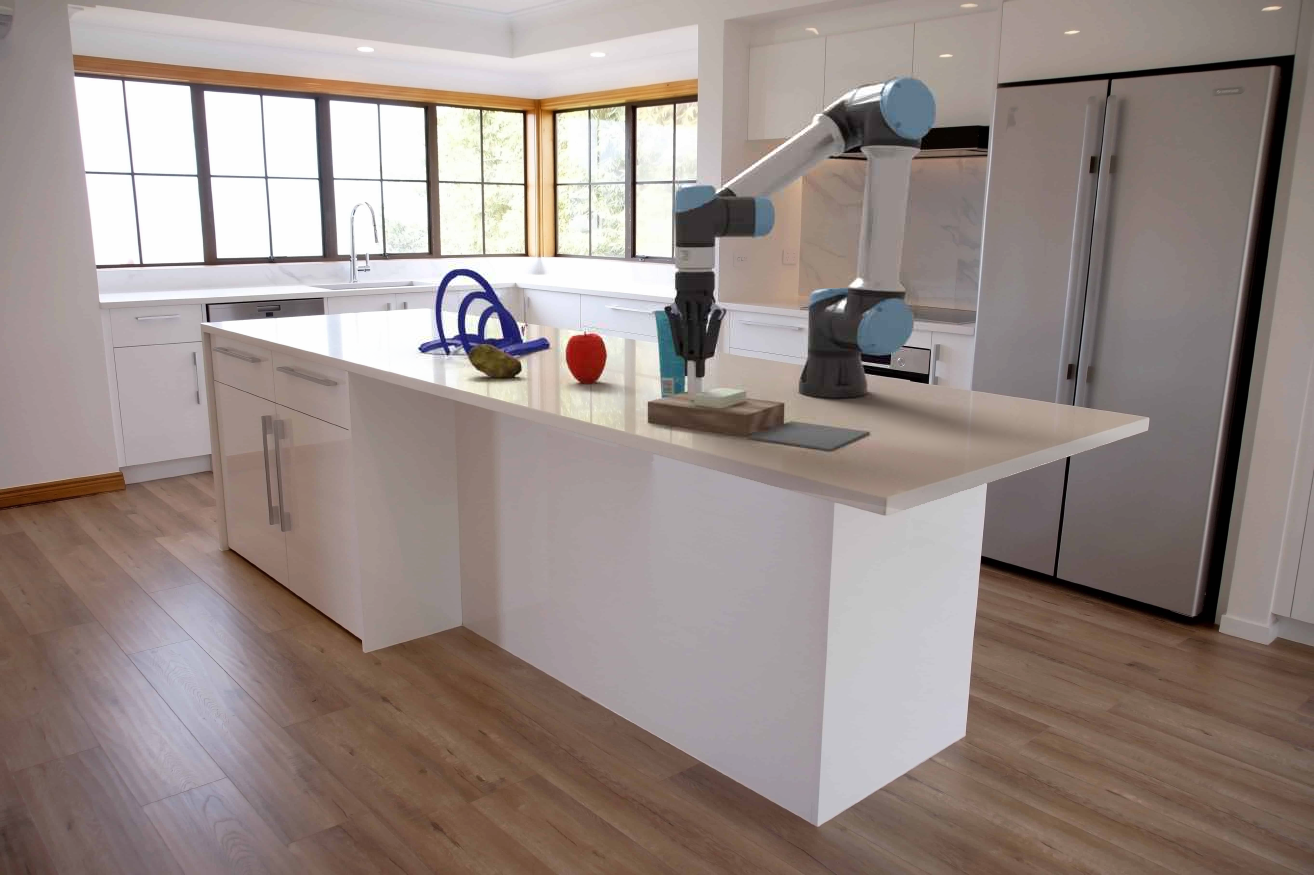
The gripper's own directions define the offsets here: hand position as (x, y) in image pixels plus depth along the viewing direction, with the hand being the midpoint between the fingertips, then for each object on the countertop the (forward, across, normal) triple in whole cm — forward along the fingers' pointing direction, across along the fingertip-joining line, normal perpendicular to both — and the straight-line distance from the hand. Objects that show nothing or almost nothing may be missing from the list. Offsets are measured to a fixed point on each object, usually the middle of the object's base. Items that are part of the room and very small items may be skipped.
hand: (694, 393), depth 186 cm
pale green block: (+1, +6, 0) cm, 6 cm away
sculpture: (+6, -106, +45) cm, 115 cm away
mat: (+5, +25, 0) cm, 25 cm away
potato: (+5, -69, +13) cm, 71 cm away
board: (+5, +5, 0) cm, 7 cm away
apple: (+5, -45, +20) cm, 50 cm away
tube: (+5, -15, +14) cm, 21 cm away
